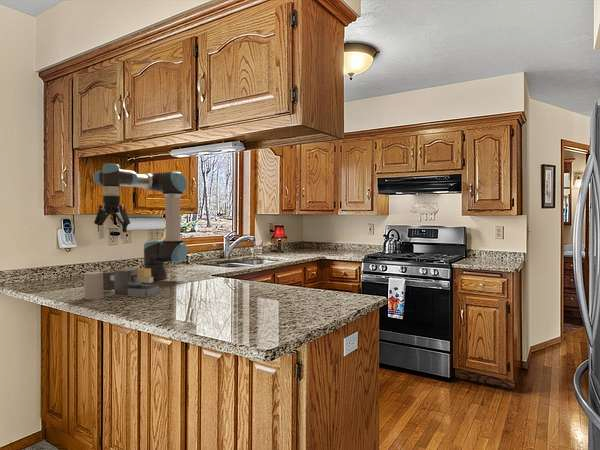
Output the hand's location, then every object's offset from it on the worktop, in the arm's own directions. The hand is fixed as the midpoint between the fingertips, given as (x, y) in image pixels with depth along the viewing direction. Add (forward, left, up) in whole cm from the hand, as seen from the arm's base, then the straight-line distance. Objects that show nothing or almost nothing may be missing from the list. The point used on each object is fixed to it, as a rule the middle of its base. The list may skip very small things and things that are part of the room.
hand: (112, 238), depth 209 cm
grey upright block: (+8, -4, -28) cm, 29 cm away
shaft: (-6, +3, -27) cm, 28 cm away
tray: (-6, +13, -28) cm, 31 cm away
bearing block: (-6, +4, -28) cm, 29 cm away
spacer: (-6, +14, -19) cm, 24 cm away
